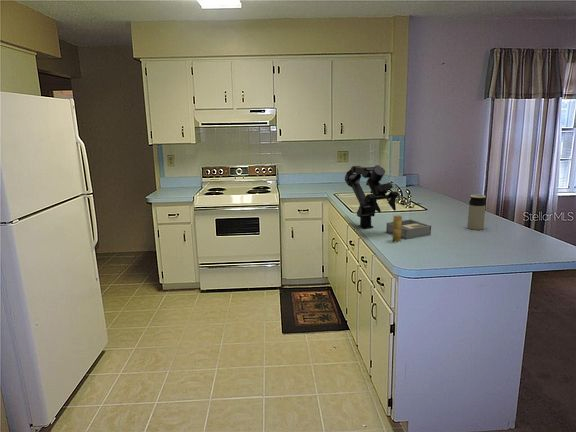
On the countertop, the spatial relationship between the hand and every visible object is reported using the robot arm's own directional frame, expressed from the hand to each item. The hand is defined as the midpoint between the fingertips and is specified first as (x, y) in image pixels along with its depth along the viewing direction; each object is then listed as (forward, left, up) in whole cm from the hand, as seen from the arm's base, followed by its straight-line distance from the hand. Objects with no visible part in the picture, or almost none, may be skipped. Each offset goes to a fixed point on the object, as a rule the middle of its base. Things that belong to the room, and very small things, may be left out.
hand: (387, 211), depth 207 cm
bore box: (0, +14, -13) cm, 19 cm away
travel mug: (+9, +52, -14) cm, 54 cm away
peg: (+8, 0, -13) cm, 16 cm away
